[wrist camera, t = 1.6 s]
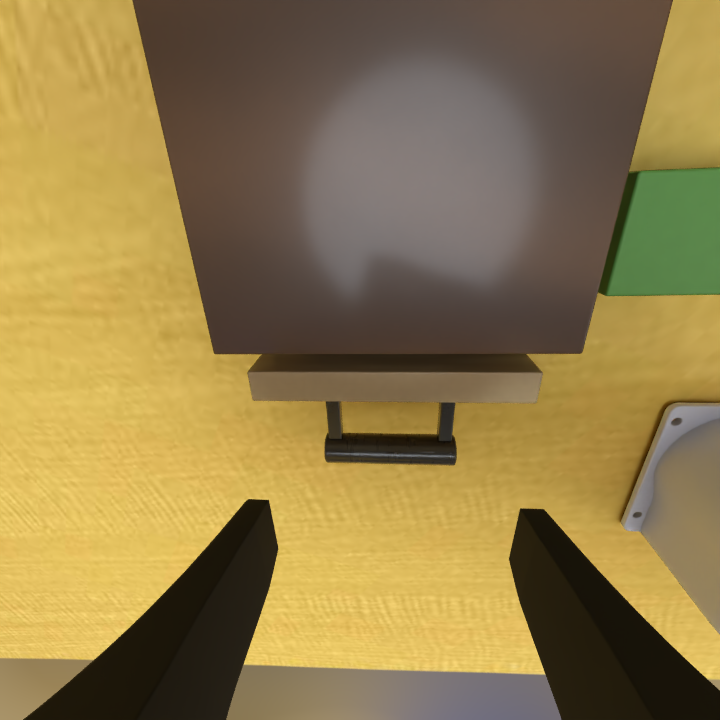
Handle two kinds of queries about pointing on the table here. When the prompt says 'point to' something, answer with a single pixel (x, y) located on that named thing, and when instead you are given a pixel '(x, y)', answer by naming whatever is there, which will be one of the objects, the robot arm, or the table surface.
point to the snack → (666, 235)
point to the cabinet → (400, 165)
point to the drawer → (394, 395)
